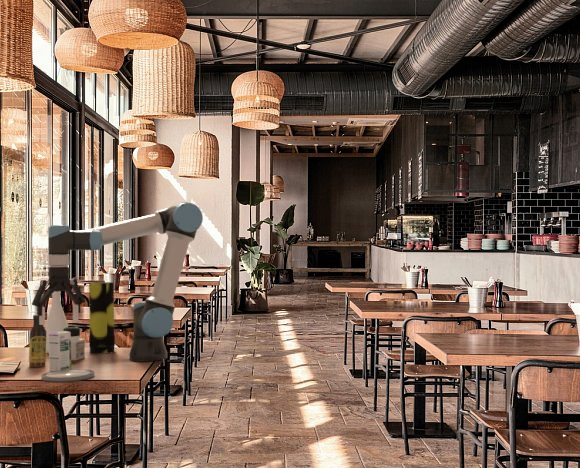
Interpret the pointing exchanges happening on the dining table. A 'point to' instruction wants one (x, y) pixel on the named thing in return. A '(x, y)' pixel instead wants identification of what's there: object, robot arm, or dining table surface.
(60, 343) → the syrup box
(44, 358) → the sauce bottle
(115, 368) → the dining table surface
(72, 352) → the container
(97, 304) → the container
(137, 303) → the robot arm
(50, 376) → the dish
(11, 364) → the dining table surface
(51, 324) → the wine bottle
